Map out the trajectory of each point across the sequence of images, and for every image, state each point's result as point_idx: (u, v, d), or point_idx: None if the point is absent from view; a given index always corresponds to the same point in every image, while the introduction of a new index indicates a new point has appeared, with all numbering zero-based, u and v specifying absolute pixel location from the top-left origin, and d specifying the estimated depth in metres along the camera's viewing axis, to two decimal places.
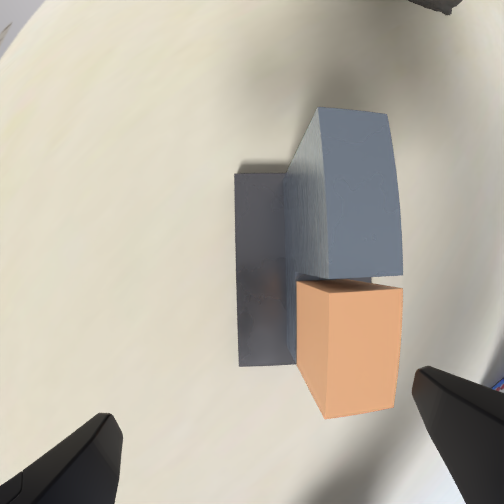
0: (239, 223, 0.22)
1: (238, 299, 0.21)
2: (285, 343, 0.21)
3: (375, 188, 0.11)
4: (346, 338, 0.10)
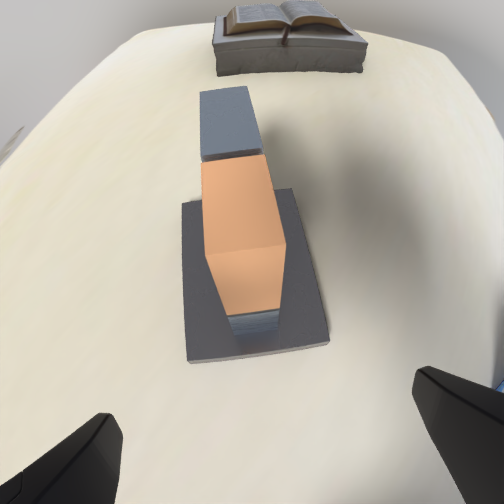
0: (185, 236, 0.25)
1: (184, 295, 0.23)
2: (232, 333, 0.21)
3: (236, 113, 0.16)
4: (217, 186, 0.13)
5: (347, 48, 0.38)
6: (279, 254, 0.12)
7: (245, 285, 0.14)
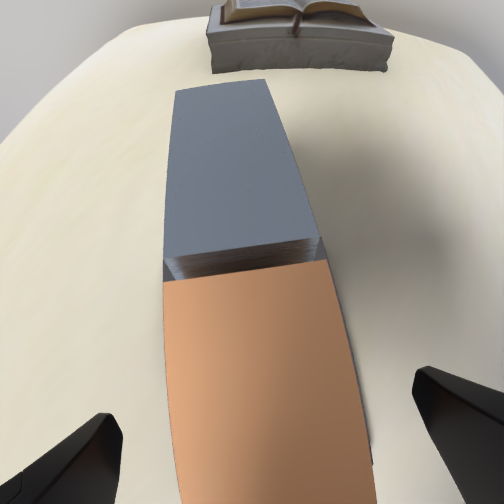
0: None
1: None
2: None
3: (246, 137, 0.07)
4: (206, 370, 0.05)
5: (371, 42, 0.30)
6: None
7: None
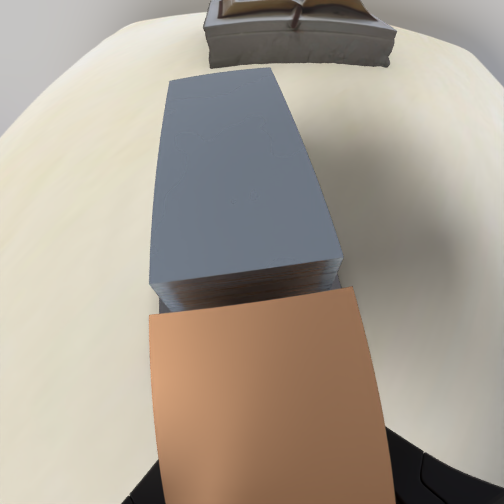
0: None
1: None
2: None
3: (251, 132, 0.06)
4: (203, 429, 0.03)
5: (372, 36, 0.29)
6: None
7: None
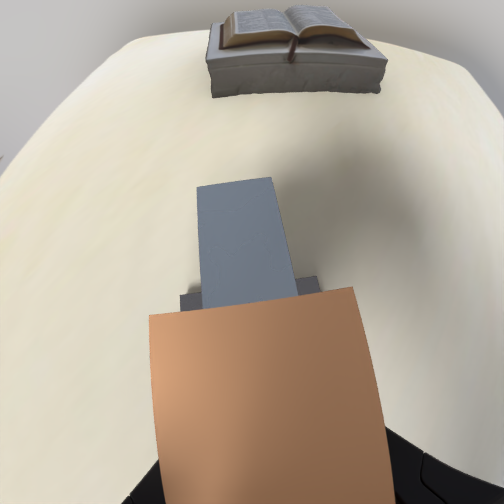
0: None
1: None
2: None
3: (258, 249, 0.10)
4: (203, 429, 0.03)
5: (364, 65, 0.33)
6: None
7: None
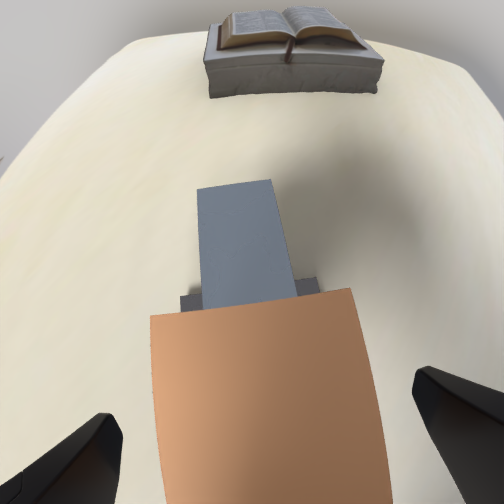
0: None
1: None
2: None
3: (258, 251, 0.11)
4: (203, 427, 0.03)
5: (361, 66, 0.33)
6: None
7: None
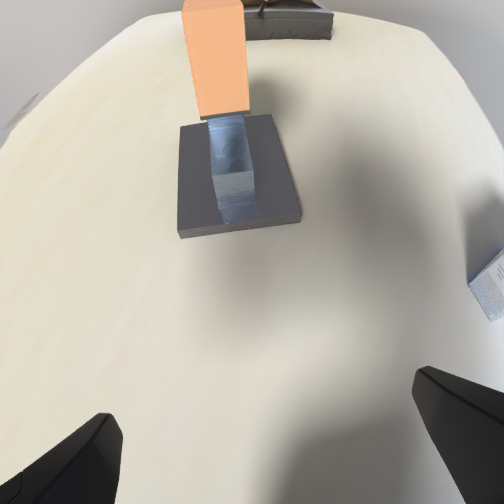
0: (182, 146, 0.29)
1: (179, 184, 0.27)
2: (217, 208, 0.25)
3: None
4: None
5: (316, 18, 0.42)
6: (239, 17, 0.12)
7: (214, 60, 0.14)
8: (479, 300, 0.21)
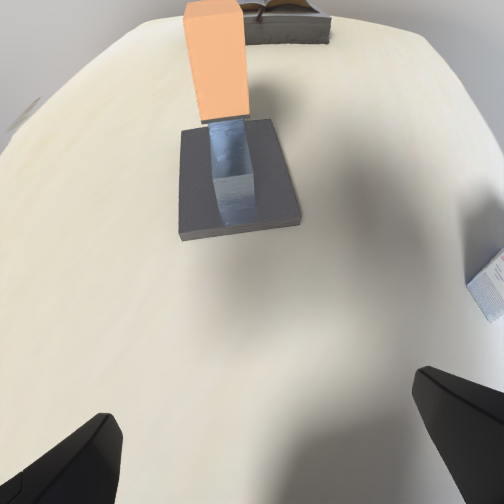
0: (183, 150, 0.30)
1: (180, 187, 0.27)
2: (218, 211, 0.25)
3: None
4: (197, 5, 0.13)
5: (313, 23, 0.43)
6: (239, 23, 0.12)
7: (214, 65, 0.14)
8: (477, 301, 0.21)
